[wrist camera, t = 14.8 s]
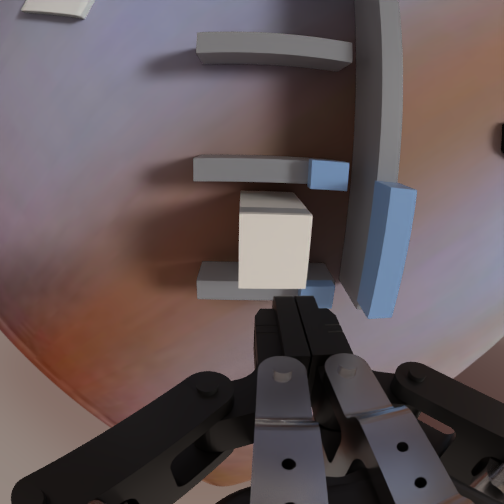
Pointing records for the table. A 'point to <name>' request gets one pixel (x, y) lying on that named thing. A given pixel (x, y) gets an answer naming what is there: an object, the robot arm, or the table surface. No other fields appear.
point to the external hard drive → (59, 7)
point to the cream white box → (273, 240)
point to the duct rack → (331, 160)
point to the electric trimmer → (503, 144)
